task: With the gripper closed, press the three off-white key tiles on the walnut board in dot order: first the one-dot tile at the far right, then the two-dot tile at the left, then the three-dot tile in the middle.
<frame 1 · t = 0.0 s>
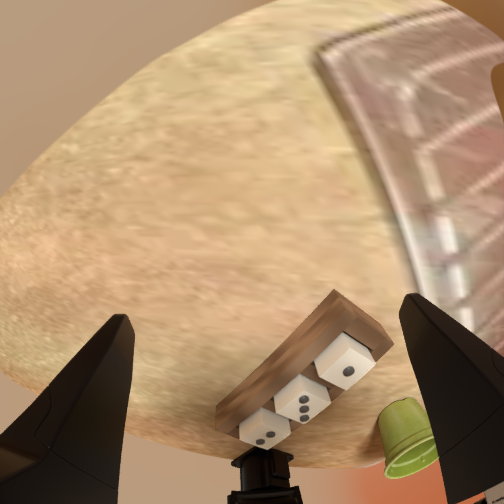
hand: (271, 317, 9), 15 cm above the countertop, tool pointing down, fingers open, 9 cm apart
tile two dot: (264, 429, 27), point 4 cm above the countertop, slide at 0.0 cm
plant pot: (396, 410, 34), on the countertop
tile three dot: (302, 400, 26), point 4 cm above the countertop, slide at 0.0 cm
tile one dot: (344, 362, 24), point 4 cm above the countertop, slide at 0.0 cm
tile board: (295, 370, 30), on the countertop
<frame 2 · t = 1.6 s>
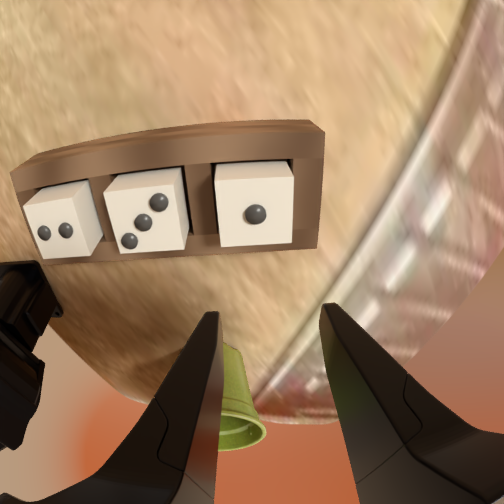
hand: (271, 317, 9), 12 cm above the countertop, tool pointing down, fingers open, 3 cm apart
tile two dot: (63, 221, 15), point 4 cm above the countertop, slide at 0.0 cm
plant pot: (211, 355, 30), on the countertop
tile three dot: (148, 211, 15), point 4 cm above the countertop, slide at 0.0 cm
tile one dot: (254, 203, 16), point 4 cm above the countertop, slide at 0.0 cm
tile board: (164, 181, 19), on the countertop
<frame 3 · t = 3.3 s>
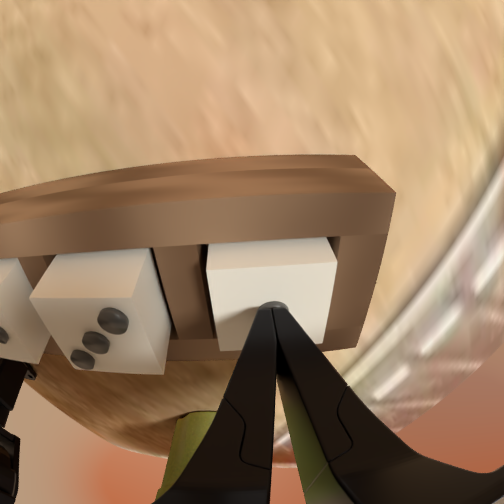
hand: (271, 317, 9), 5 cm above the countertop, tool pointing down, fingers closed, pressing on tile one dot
plant pot: (211, 421, 24), on the countertop
tile three dot: (105, 315, 9), point 4 cm above the countertop, slide at 0.0 cm
tile one dot: (269, 289, 10), point 3 cm above the countertop, slide at 1.0 cm, touching gripper
tile board: (134, 245, 13), on the countertop
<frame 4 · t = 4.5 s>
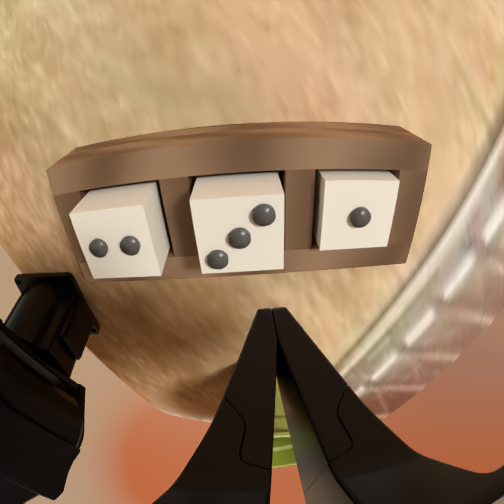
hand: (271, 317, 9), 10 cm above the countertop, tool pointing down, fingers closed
tile two dot: (122, 232, 13), point 4 cm above the countertop, slide at 0.0 cm
plant pot: (264, 369, 28), on the countertop
tile three dot: (239, 223, 13), point 4 cm above the countertop, slide at 0.0 cm
tile one dot: (352, 205, 14), point 3 cm above the countertop, slide at 1.2 cm
tile board: (239, 185, 17), on the countertop
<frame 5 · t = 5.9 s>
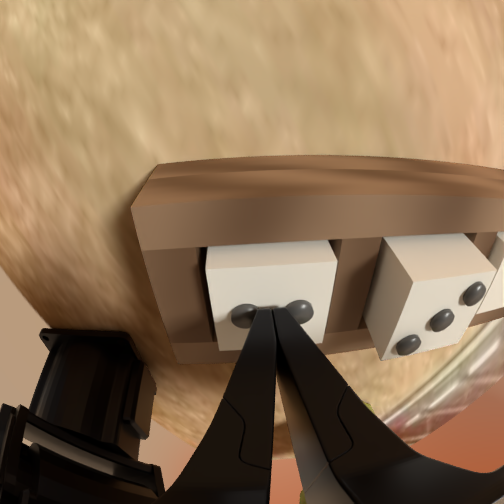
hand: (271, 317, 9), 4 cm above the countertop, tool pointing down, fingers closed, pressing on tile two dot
tile two dot: (268, 288, 10), point 3 cm above the countertop, slide at 1.2 cm, touching gripper
tile three dot: (427, 296, 9), point 4 cm above the countertop, slide at 0.0 cm
tile one dot: (502, 263, 11), point 3 cm above the countertop, slide at 1.2 cm
tile board: (384, 232, 13), on the countertop
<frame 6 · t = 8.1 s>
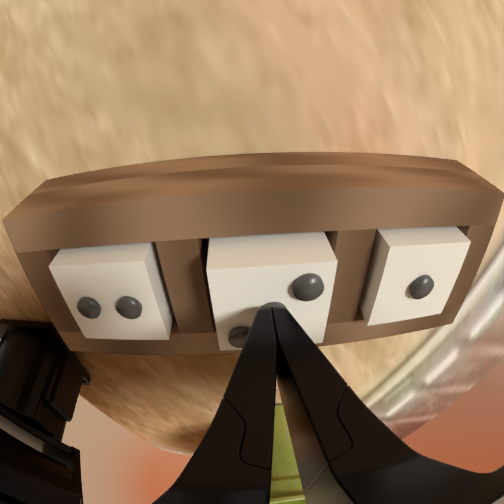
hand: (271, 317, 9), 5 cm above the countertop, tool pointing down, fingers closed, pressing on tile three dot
tile two dot: (117, 285, 11), point 3 cm above the countertop, slide at 1.2 cm
plant pot: (274, 415, 24), on the countertop
tile three dot: (269, 288, 10), point 4 cm above the countertop, slide at 0.7 cm, touching gripper
tile one dot: (408, 267, 11), point 3 cm above the countertop, slide at 1.2 cm
tile board: (260, 233, 13), on the countertop
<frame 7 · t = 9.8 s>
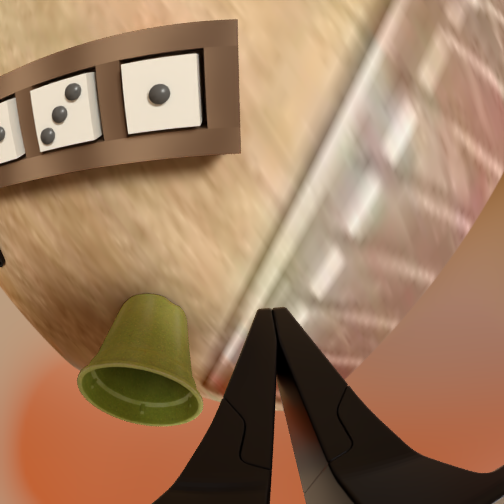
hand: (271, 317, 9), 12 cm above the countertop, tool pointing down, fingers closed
tile two dot: (2, 131, 13), point 3 cm above the countertop, slide at 1.2 cm
plant pot: (153, 315, 26), on the countertop
tile three dot: (69, 110, 13), point 3 cm above the countertop, slide at 1.2 cm
tile one dot: (164, 91, 13), point 3 cm above the countertop, slide at 1.2 cm
tile board: (90, 102, 16), on the countertop
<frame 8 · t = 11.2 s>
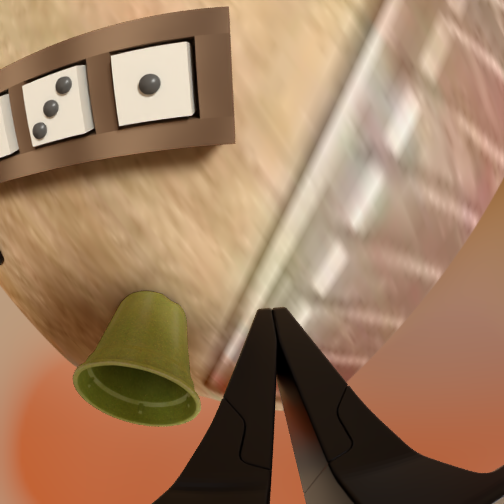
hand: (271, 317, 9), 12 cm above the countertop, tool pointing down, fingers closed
plant pot: (152, 313, 26), on the countertop
tile three dot: (61, 104, 13), point 3 cm above the countertop, slide at 1.2 cm
tile one dot: (155, 82, 13), point 3 cm above the countertop, slide at 1.2 cm
tile board: (84, 96, 15), on the countertop
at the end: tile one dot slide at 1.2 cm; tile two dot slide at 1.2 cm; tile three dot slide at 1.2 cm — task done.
